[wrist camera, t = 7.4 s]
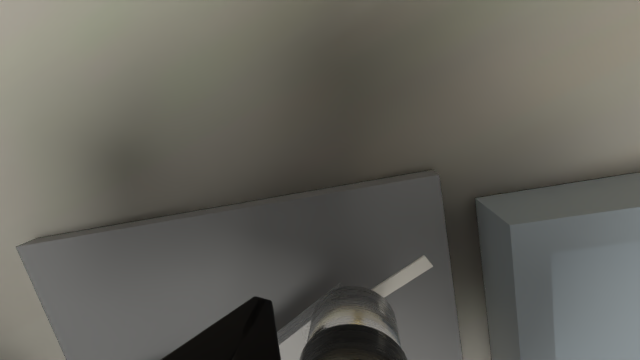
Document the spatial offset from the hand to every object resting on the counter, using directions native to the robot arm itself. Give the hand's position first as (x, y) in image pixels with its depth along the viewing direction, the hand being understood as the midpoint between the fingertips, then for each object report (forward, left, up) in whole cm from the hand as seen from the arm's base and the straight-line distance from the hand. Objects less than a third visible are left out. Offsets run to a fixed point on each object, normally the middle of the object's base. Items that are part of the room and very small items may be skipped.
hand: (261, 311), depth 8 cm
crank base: (-3, -6, -4) cm, 8 cm away
